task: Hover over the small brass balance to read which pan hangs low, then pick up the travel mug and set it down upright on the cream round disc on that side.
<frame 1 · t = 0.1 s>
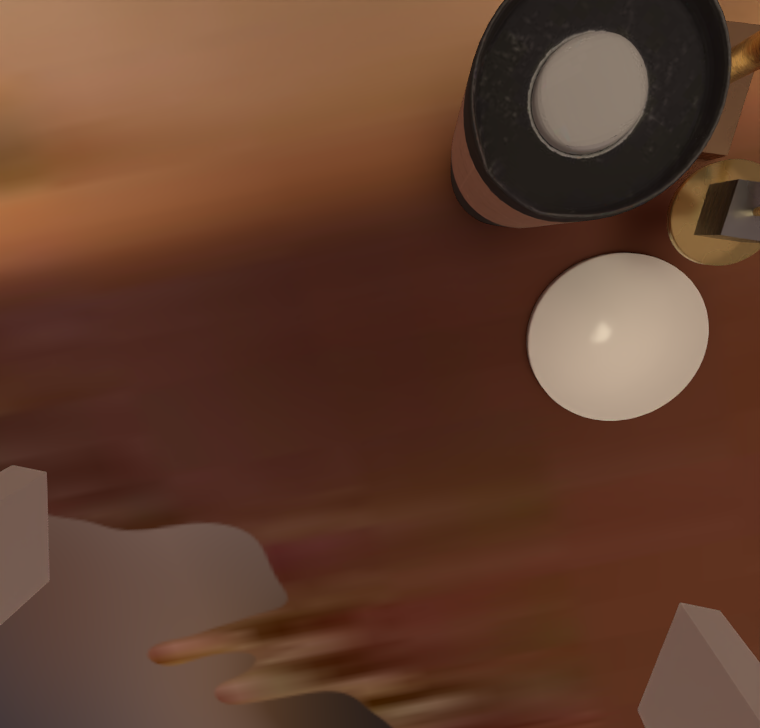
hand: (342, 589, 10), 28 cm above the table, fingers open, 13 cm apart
balance: (679, 95, 31), on the table
travel mug: (502, 171, 34), on the table
cream round disc: (610, 337, 36), on the table
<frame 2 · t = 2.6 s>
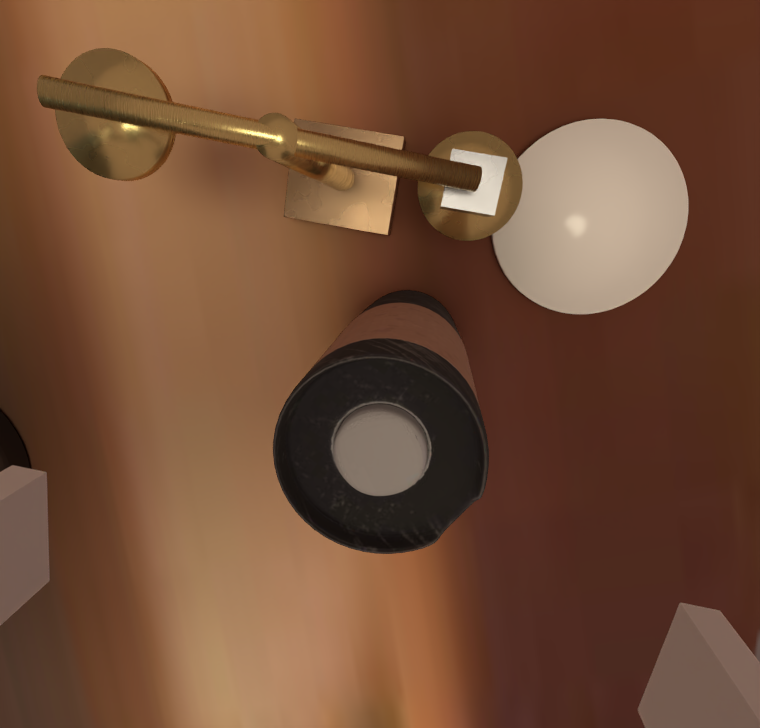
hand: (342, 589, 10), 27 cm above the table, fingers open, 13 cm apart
balance: (347, 181, 33), on the table
travel mug: (407, 338, 36), on the table
cream round disc: (582, 221, 33), on the table
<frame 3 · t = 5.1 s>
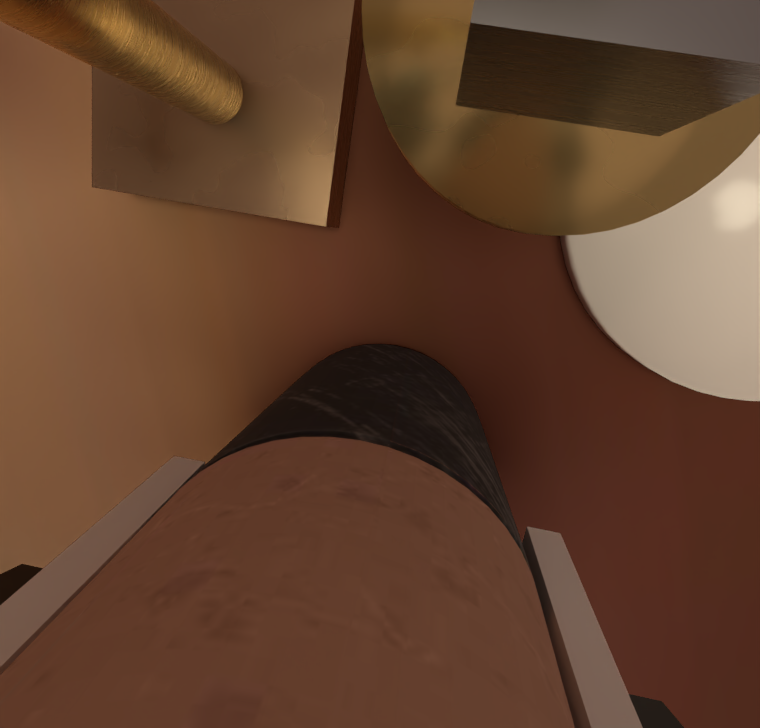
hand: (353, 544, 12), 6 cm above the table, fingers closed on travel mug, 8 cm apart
balance: (241, 109, 15), on the table
travel mug: (380, 436, 18), on the table, touching gripper
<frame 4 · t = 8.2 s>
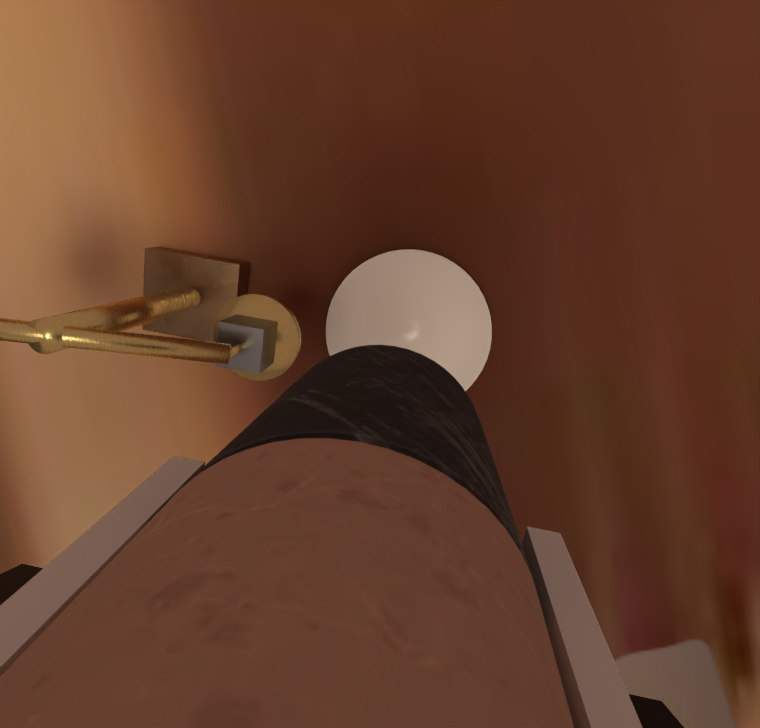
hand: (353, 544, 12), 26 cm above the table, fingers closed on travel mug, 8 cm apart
balance: (202, 294, 38), on the table
travel mug: (380, 437, 18), point 20 cm above the table, touching gripper
cream round disc: (408, 331, 37), on the table
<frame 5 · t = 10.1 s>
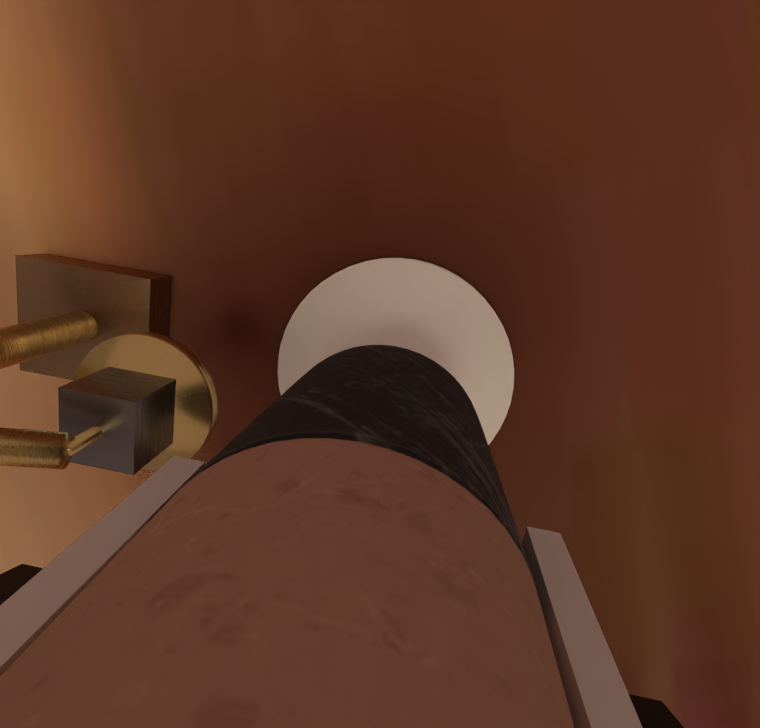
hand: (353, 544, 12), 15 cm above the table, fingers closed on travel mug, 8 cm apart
balance: (107, 319, 27), on the table
travel mug: (380, 437, 18), point 9 cm above the table, touching gripper
cream round disc: (394, 372, 26), on the table
when the fingers open (9 cm above the table, at t = 11.7 s): travel mug drops 2 cm, resting on cream round disc.
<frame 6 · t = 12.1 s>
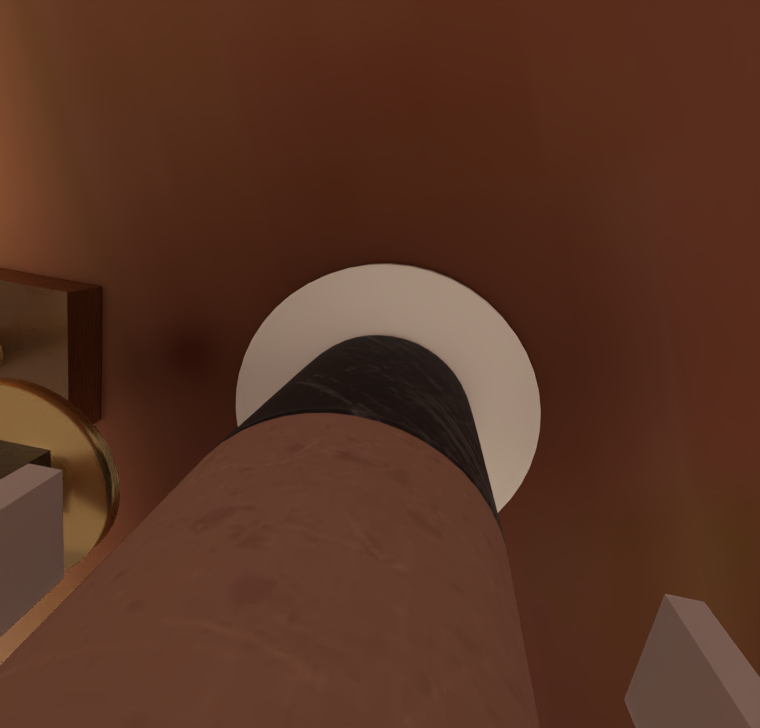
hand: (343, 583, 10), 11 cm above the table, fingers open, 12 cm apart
balance: (24, 341, 21), on the table
travel mug: (380, 420, 19), point 1 cm above the table, touching cream round disc
cream round disc: (386, 409, 20), on the table
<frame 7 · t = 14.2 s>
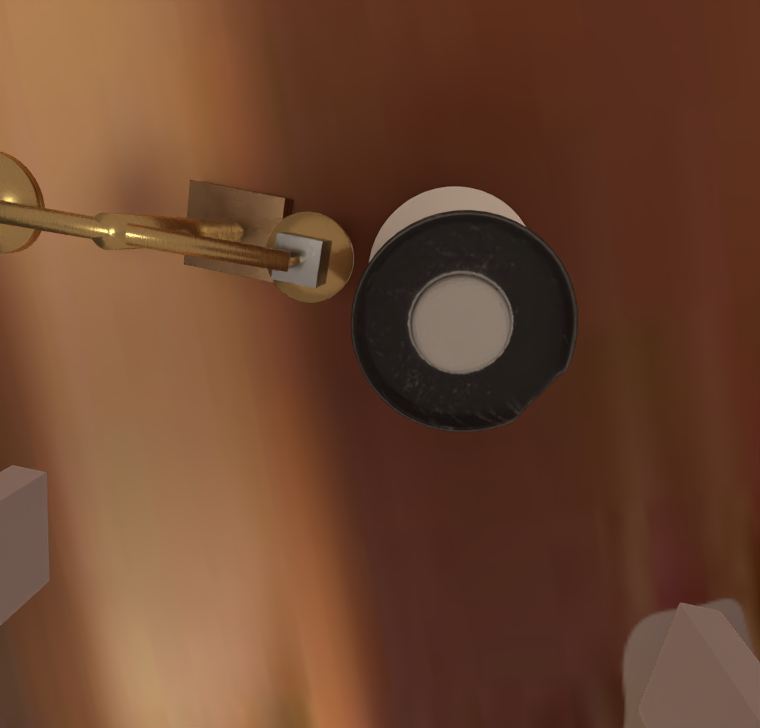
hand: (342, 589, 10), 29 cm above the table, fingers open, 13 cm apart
balance: (243, 232, 37), on the table
travel mug: (449, 275, 35), point 1 cm above the table, touching cream round disc
cream round disc: (450, 273, 36), on the table
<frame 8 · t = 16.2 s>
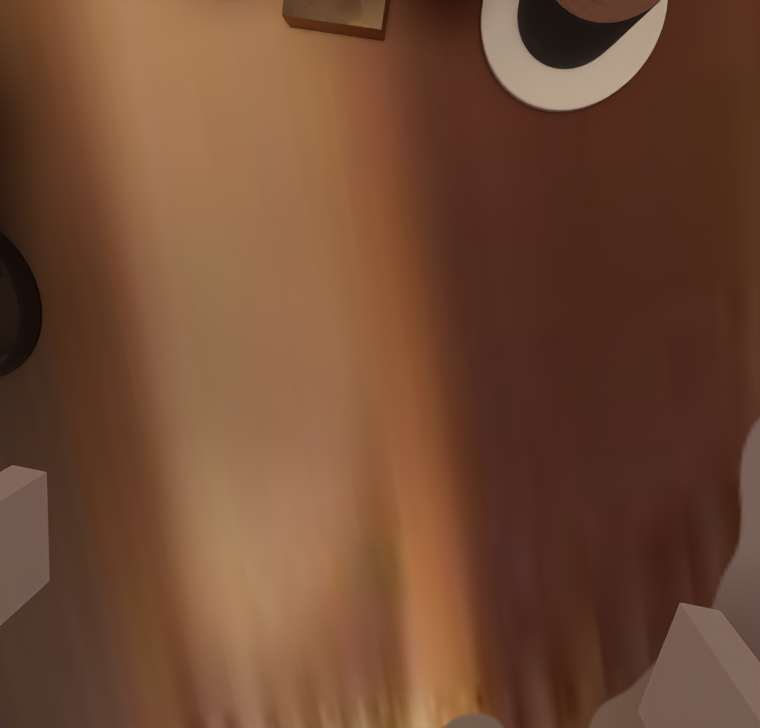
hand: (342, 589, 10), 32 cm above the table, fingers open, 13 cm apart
travel mug: (570, 12, 33), point 1 cm above the table, touching cream round disc
cream round disc: (568, 17, 34), on the table
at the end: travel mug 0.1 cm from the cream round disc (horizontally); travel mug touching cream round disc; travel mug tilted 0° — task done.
